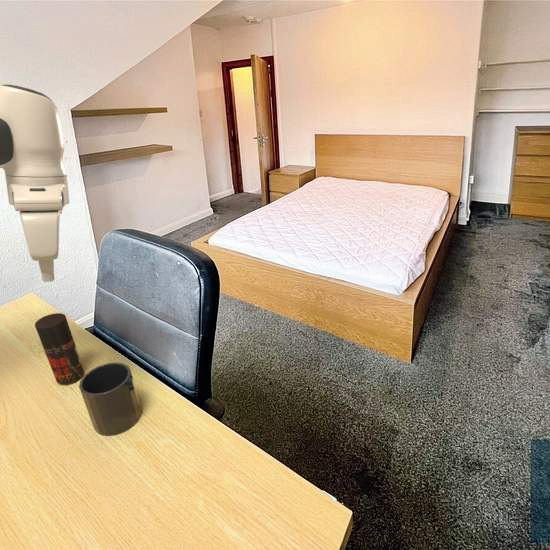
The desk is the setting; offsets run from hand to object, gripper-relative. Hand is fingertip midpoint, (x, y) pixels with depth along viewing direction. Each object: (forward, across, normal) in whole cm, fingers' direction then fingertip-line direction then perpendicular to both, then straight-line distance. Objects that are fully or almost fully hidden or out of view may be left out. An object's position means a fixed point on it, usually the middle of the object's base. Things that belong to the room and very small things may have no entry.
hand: (48, 272), depth 72 cm
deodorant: (+29, -14, +2) cm, 32 cm away
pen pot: (+29, +5, +9) cm, 31 cm away
